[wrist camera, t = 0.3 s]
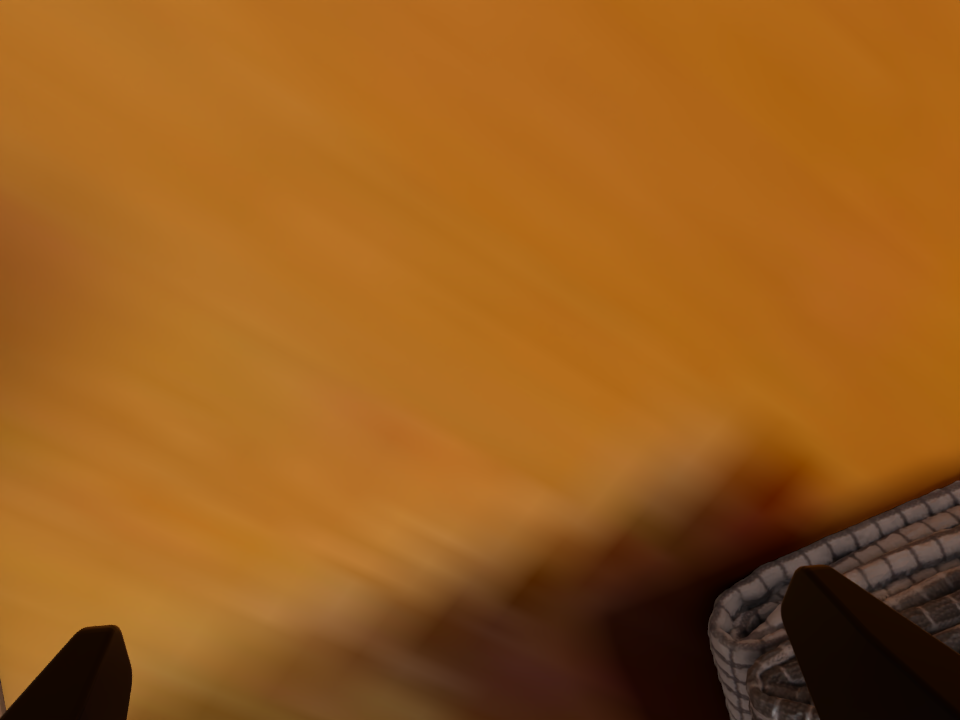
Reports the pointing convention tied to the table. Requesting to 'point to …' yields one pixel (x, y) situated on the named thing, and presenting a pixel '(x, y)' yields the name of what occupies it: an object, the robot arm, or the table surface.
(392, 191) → the table surface
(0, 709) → the walnut tray
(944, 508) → the towel
